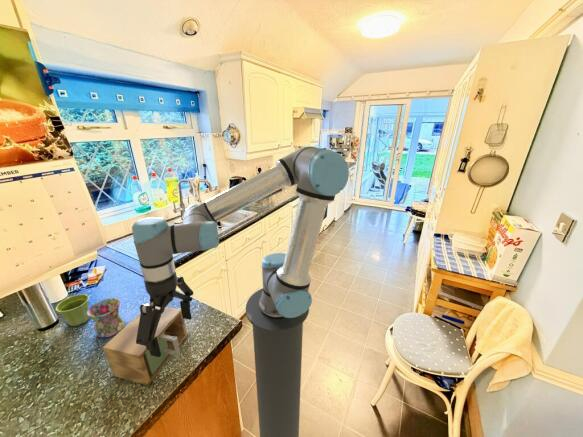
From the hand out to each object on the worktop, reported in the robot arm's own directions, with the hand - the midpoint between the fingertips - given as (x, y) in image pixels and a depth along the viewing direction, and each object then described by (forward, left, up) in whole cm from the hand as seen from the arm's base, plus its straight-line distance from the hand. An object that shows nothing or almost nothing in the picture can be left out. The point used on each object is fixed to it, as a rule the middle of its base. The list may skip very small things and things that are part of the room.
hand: (173, 335), depth 70 cm
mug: (+17, -28, -13) cm, 35 cm away
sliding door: (+3, -1, -11) cm, 11 cm away
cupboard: (+6, -9, -12) cm, 16 cm away
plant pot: (+26, -42, -13) cm, 51 cm away
